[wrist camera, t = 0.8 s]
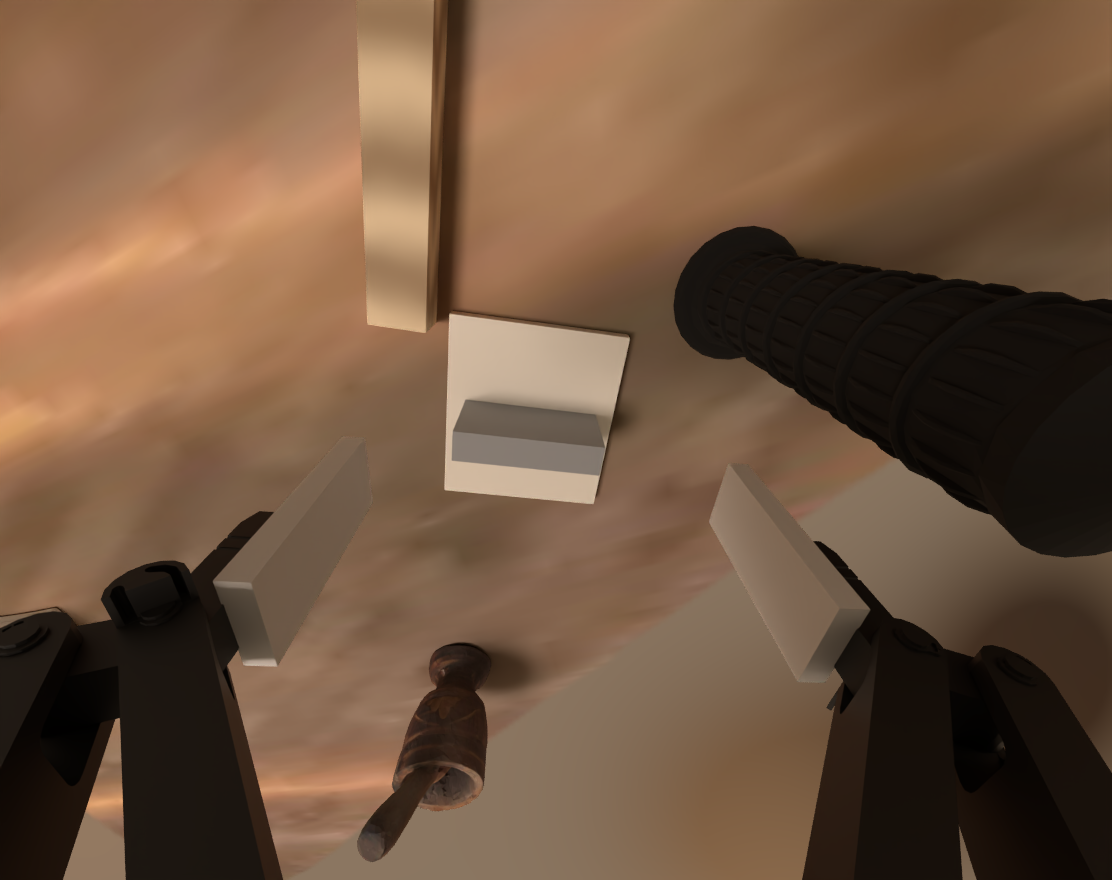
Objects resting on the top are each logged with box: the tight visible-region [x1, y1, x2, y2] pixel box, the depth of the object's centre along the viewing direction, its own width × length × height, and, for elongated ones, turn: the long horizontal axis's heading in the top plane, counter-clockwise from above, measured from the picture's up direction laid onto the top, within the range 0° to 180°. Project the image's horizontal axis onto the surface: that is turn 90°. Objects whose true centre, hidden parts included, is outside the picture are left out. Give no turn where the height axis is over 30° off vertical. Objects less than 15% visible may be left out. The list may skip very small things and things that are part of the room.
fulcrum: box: [445, 311, 630, 504], centre depth 34 cm, size 16×14×7 cm
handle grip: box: [674, 226, 1112, 557], centre depth 22 cm, size 10×26×10 cm
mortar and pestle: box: [357, 646, 491, 862], centre depth 43 cm, size 12×9×20 cm
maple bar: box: [356, 0, 448, 333], centre depth 27 cm, size 20×4×4 cm, turn 171°
